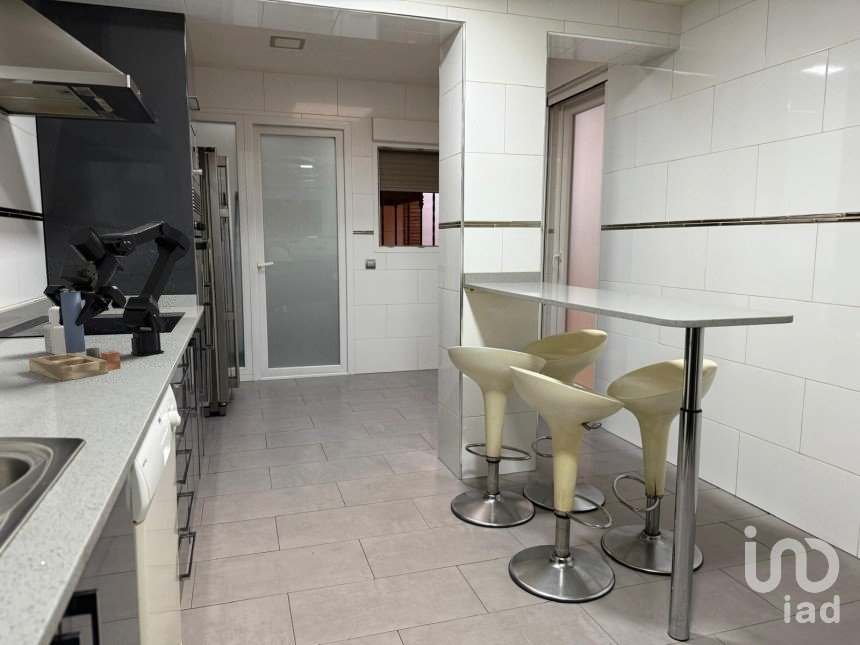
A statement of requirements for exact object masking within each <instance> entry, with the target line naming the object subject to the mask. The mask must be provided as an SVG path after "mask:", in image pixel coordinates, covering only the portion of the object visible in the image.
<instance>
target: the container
mask: <svg viewBox="0 0 860 645" xmlns="http://www.w3.org/2000/svg"><path fill="white" fill-rule="evenodd" d="M60 310H61V307H58V306H56V305H55V306H51V307H49V308H48V310H47V312H48V313H47V314H48V322H49V324H44V325H43V327H42V328H43V337H44V348H45V352H46V353H48V354H52V355H58V354H65V353H66V346H65V336H64V325H63V326H61V325H60V324H59V318H60Z"/></svg>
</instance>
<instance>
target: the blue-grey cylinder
mask: <svg viewBox="0 0 860 645" xmlns="http://www.w3.org/2000/svg"><path fill="white" fill-rule="evenodd" d="M60 294H61V305H62V315H63V325H64V336H65V346H66V353H77V354H81V353H83V352H86V340H85V331H84V324H82V325H80V326H77V325H76V324H75V323H76V320H77V318H78V316H79V314H80V312H81V310H82V308H83V306H82V301H81V295H80V292H62V293H60Z"/></svg>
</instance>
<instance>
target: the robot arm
mask: <svg viewBox="0 0 860 645" xmlns="http://www.w3.org/2000/svg"><path fill="white" fill-rule="evenodd" d="M190 240H191V239H189V237H188V236H187V235H186V234H185V233H183V232H182V231H181V230H180V229H179V230H178V229H177V228H175V227H173V226H172V225H171V224H169V223H168V222H165V221H161V220H160V221H149V222H148V223H147V224H144V225H141V226H139V227H136V228H134V229H133V228H132V229H131V230H128V231H125V232H116V233H106V234H105V233H104V234H102V235H100V236H99V234H98V233H97V232H96V230H95V228H94V227H93V225H84V226H83V227H82V228H81V229H79V230H76V231H74V233H72V234H70V235H69V236H68V239H67V243H68V244H69V245H70V246H71V248H72V249H73V250H74V251H75V252H76V253H77V254H78V256H79V257H80V258H81V259H82V260H83V261H84V262H85V263H84V264H83V265H82V264H74V263H73V264H72V263H71V264H70V263H69V264H68V263H65V264H62V265H61V269H60V272H59V275H58V276H59V277H58V278H60V279H61V280H65V281H68V282H69V286H70V288H73V289H74V290H71V289H68V288H67V287H66V286H65V285H63V284H49V285H46V287H45V289H44V290H43V291H42V292H43V294H44V295H45V297H47V298H48V300H49V301H50V302H52V303H53V304H54V305H55V306H58V307H61V310H60V318H59V324H60V325H61V326H63V315H62V305H61V294H60V293H62V292H80V295H81V302H83V301H84V304H83V306H82V310H81V312H80V314H79V316H78V318H77V320H76V323H75V324H76V325H77V326H80V325H82V324H83V325H84V324H85V323H87V322H89V321H91V319H93V318H95V317H97V316H99V315H101V314H102V313H104V312H107V311H108V312H109V310H110V308H109V306H110V305H111V308H112V309H118V310H119V309H120V310H123V312H122V320H123V324H124V327H125V330H126V333H132V337H131V338H130V341H131V351H130V354H131V355H132V354H133V355H137V356H141V357H145V356H152V355H157V354H162V353H165V350H163V349H162V346H161V344H162V343H161V333H163V331H165V330H166V322H165V321H164V319H163V318H162V317H161V316H160V312H161V310H160V307H159V301H160V299H161V297H162V294H163V292H164V289H165V287H166V286H167V283H168V280H169V279H170V277H171V273H172V272H173V269H175V268H174V267H175V266H176V264H177V263H178V262H180V261H181V260H183V259H184V258H185V256H187V254H188V252H189V250H190V248H191V241H190ZM151 241H152V243H153V244H155V246H156V251H157V254H158V256H157V258H156V260H155V262H154V265H153V266H152V269H151V271H150V273H149V275H148V277H147V279H146V282H145V283H144V285H143V288H142V290H141V292H140V294H138V296H129V297H128V299H127V297H126V296H125V295H124V293H123V292H122V291H121V290H120V289H119V288H118V287H117V286H116V285H113V283H112V282H110V281H111V280H112V278H113V276H114V274H115V273H116V272H117V273H123V272H124V271H125V270H124V266H123V265H122V261H121V260H118V258H119V257H121V258H124V257H125V258H126V257H129V256H131V255H132V254H134V253H135V252H136V251H137V248H138V247H139V246H141V245H144V244H146V243H148V242H151ZM116 257H117V258H116ZM86 262H87V263H86ZM88 262H90V263H88Z"/></svg>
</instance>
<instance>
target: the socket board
mask: <svg viewBox="0 0 860 645" xmlns="http://www.w3.org/2000/svg"><path fill="white" fill-rule="evenodd" d="M85 350H86V351H85V352H86V354H81V353H65V354H58V355H55V354H52V355H45V356H41V357H40V356H39V357H33V358H28V366H29V371H30V372H32V373H35V374H38V375H42V376H45V377H48V378H52V379H56V380H59V381H61V382H67V381H71V380H78V379H82V378H83V379H84V378H88V377H94V376H99V375H106V374H109V371H111V370H118V369H121V368H122V367H121V358H120V353H121V352H120V351H115V350H111V351H103V352H100V347H88V348H85Z"/></svg>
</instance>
